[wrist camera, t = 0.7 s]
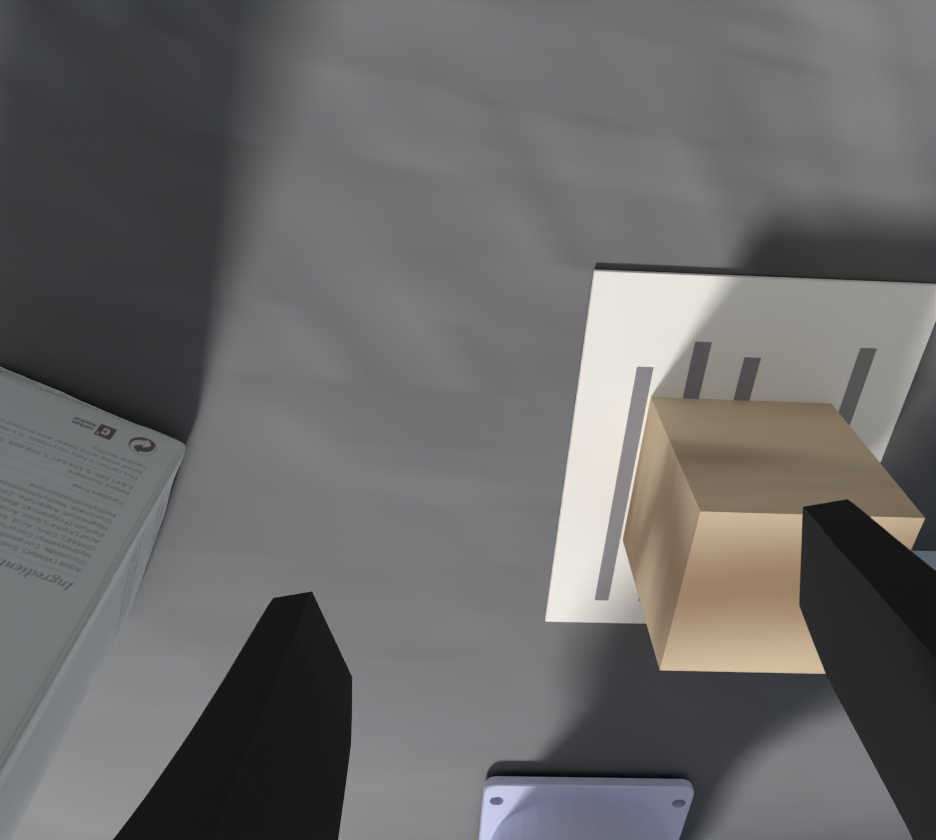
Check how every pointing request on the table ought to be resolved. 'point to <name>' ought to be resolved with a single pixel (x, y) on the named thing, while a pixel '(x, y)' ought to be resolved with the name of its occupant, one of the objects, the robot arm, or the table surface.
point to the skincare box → (65, 562)
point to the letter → (714, 389)
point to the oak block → (742, 526)
